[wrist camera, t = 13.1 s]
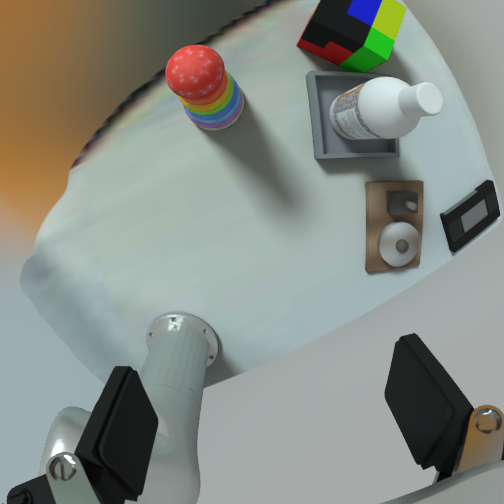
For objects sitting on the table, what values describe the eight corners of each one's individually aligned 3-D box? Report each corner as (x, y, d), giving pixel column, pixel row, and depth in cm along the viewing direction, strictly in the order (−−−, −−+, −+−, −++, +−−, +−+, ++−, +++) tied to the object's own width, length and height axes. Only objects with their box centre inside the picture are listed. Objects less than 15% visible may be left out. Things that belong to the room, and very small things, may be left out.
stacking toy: (251, 84, 36) (257, 35, 19) (235, 136, 39) (229, 125, 21) (195, 72, 35) (163, 20, 18) (180, 124, 38) (133, 106, 20)
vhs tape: (437, 213, 44) (444, 216, 42) (486, 178, 41) (492, 180, 40) (448, 249, 46) (454, 252, 44) (494, 212, 44) (500, 215, 42)
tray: (390, 155, 40) (399, 156, 37) (314, 158, 40) (319, 158, 37) (382, 79, 36) (391, 75, 33) (305, 75, 36) (309, 71, 33)
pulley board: (416, 262, 46) (434, 276, 40) (365, 269, 46) (380, 285, 40) (419, 180, 41) (441, 185, 35) (365, 182, 41) (383, 187, 35)
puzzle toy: (319, 0, 31) (337, -31, 22) (377, 30, 33) (406, 7, 24) (296, 45, 34) (311, 19, 25) (358, 76, 36) (387, 60, 26)
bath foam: (366, 91, 36) (448, 60, 17) (377, 136, 38) (466, 135, 19) (322, 97, 36) (386, 60, 18) (334, 143, 39) (407, 143, 20)
